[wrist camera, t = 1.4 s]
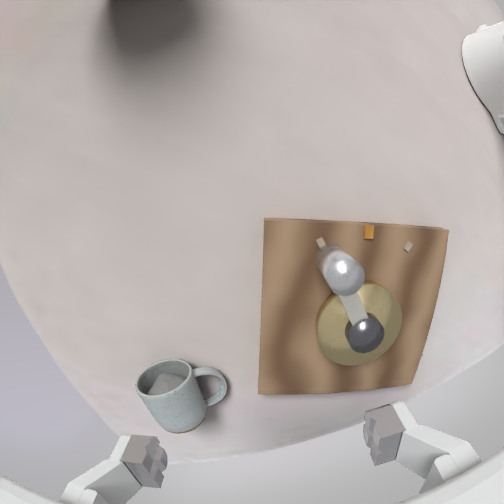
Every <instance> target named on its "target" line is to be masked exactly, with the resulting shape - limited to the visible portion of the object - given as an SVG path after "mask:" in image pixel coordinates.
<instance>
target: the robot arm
mask: <svg viewBox="0 0 504 504" xmlns="http://www.w3.org/2000/svg"><path fill="white" fill-rule="evenodd" d="M462 57H463V62H464V66H465V69H466V72H467V75H468V77H469V80H470V82H471V84H472V86H473V88H474V90H475V91H476V93H477V95H478V96H479V98H480V99H481V101H482V102H483V103H484V105H485V106H486V107H487V109H488V110H489V111H490V113H491V114H492V116H493V119H494V121H495V123H496V126H497V128H498V130H499V131H500V133H502V134H504V22H500V23H498V24H495V25H492V26H489V27H488V26H487V25H485V24H483V25H481V26H479V27H478V29H477V32H475V33H472V34H469V35H468V36H466V38H465V39H464V41H463V44H462ZM364 419H365V421H366V423H365V424H364V429H363V432H364V438H365V442H366V445H367V446H368V447H370V448H371V452H370V455H371V457H372V459H373V462H374V465H375V466H376V465H380V464H383V463H386V462H389V461H392V460H396V461H397V462H399V463H400V464H402V465H403V466H405V467H406V468H408V469H410V470H411V471H413V472H414V473H416V474H418V475H419V476H421V477H423V478H424V479H426V480H425V482H424V484H423V486H422V488H421V490H420V492H419V495H417V496H414V497H412V498H409V499H406V500H404V501H401V502H399V503H396V504H504V448H502V449H501V450H500V451H498V452H496V453H495V454H493V455H492V456H490V457H489V458H487V459H486V460H484V461H481V460H480V458H479V457H478V455H477V454H476V452H475V451H474V449H473V448H472V447H471V445H470V444H469V443H468V442H467V441H465V440H462V439H459V438H456V437H454V436H451V435H448V434H446V433H443V432H440V431H438V430H435V429H433V428H430V427H427V426H425V425H423V424H422V425H418V423H417V422H416V420H415V418H414V417H413V416H412V414H411V412H410V411H409V409H408V407H407V406H406V404H405V403H404V401H402V400H400V401H397V402H394V403H391V404H387V405H384V406H381V407H378V408H375V409H372V410H368V411H366V412H365V416H364ZM159 443H160V442H159V440H158V438H157V437H154V436H141V435H129V434H122V435H121V436H120V438H119V440H118V442H117V444H116V446H115V448H114V450H113V452H112V455H111V456H110V459H109V460H107V459H106V460H104V461H103V462H101V463H100V464H98V465H97V466H95V467H93V468H92V469H90V470H89V471H87V472H85V473H84V474H82V475H81V476H79V477H77V478H76V479H74V480H72V481H71V482H69V483H68V486H67V487H66V489H65V491H64V493H63V495H62V497H61V499H60V501H56V500H54V499H51V498H49V497H46V496H44V495H42V494H40V493H37V492H35V491H33V490H31V489H28V488H27V487H25V486H23V485H21V484H18V483H16V482H15V481H13V480H11V479H9V478H7V477H0V504H125V503H126V502H127V501H128V500H130V499H131V498H132V497H133V496H134V495H135V494H136V493H137V492H138V491H139V490H140V489H141V488H142V486H145V487H155V488H161V484H162V481H163V478H164V476H163V474H162V471H163V470H165V469H166V467H167V455H166V452H165V450H164V449H163V448H162V447H160V446H159Z"/></svg>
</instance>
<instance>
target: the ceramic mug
mask: <svg viewBox="0 0 504 504" xmlns="http://www.w3.org/2000/svg"><path fill="white" fill-rule="evenodd" d="M202 375H213V376H216V377H218V378H219V382H220V385H219V388H220V390H219V391H218V392H217V393H216V394H215V395H213V396H212V397H210V398H207V399H203V396H202V393H201V391H200V389H199V386H198V382H197V380H196V377H197V376H202ZM135 386H136V391H137V393H138V394H139V396H140V397H141V399H142V400H143V402H144V403H145V405H146V407H147V408H148V410H149V411H150V412H151V414H152V415H153V417H154V418H155V420H156V421H157V422H158V424H159V425H160V426H161V427H163V428H164V429H165V430H167V431H169V432H172V433H185V432H189V431H192V430H194V429H195V428H197V427H198V426H199V425H200V424H201V423H202V422H203V420H204V419H205V416H206V407H208V406H211V405H214V404H216V403H218V402H219V401H220V400H222V399H223V397H224V396H225V394H226V392H227V383H226V380H225V378H224V376H223V375H222V373H221V372H220V371H219V370H217V369H215V368H211V367H201V368H195V369H192V367H191V365H190V364H188V363H187V362H186V361H183V360H179V359H169V360H163V361H160V362H157V363H155V364H153V365H151V366H149V367H147V368H146V369H145V370H144V371H143V372H142V373H141V374H140V375H139V376H138V378H137V380H136V384H135Z"/></svg>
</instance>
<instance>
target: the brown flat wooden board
mask: <svg viewBox="0 0 504 504" xmlns="http://www.w3.org/2000/svg"><path fill="white" fill-rule="evenodd" d="M448 233H449V230H446V229H443V228H438V227H426V226H413V225H399V224H384V223H367V222H350V221H330V220H307V219H279V218H264V248H263V279H262V308H261V335H260V360H259V383H258V394H317V393H336V392H349V391H360V390H370V389H379V388H387V387H394V386H401V385H407V384H412V381H413V379H414V376H415V373H416V370H417V367H418V365H419V362H420V359H421V355H422V352H423V349H424V346H425V343H426V339H427V336H428V332H429V329H430V325H431V321H432V318H433V314H434V310H435V306H436V301H437V297H438V292H439V288H440V283H441V278H442V272H443V267H444V261H445V255H446V248H447V241H448ZM326 244H336V245H338V246H340V247H341V248H342V249H343V250H344V251H345V252H347V253H348V254H349V255H350V256H351V257H352V258H353V259H354V260H356V261H357V262H358V263H359V264H360V265H361V266H362V268H363V270H364V274H365V279H364V280H366V281H373V282H376V283H379V284H380V285H382V286H384V287H385V288H386V289H387V290H388V291H389V292H391V293H392V294H393V295H394V297H395V298H396V299H397V301H398V302H399V305H400V307H401V311H402V324H401V328H400V331H399V334H398V336H397V338H396V340H395V341H394V343H393V344H392V345H391V347H390V348H389V349H388V350H387V351H386V352H385V353H384V354H382V355H381V356H380V357H378V358H376V359H375V360H373V361H370V362H368V363H365V364H361V365H355V366H347V365H341V364H338V363H336V362H334V361H332V360H330V359H329V358H328V357H327V356H326V355H325V354H324V353H323V351H322V350H321V348H320V345H319V342H318V339H317V336H316V332H315V321H316V316H317V313H318V311H319V309H320V307H321V305H322V304H323V302H324V301H325V299H326V298H327V297H328V296H329V295H330V294H331V293H332V292H333V291H332V289H331V288H330V286H329V285H328V283H327V281H326V280H325V278H324V276H323V275H322V273H321V272H320V270H319V268H318V267H317V265H316V260H315V259H316V254H317V252H318V250H319V249H320V248H321V247H322V246H324V245H326Z"/></svg>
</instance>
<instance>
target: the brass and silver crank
mask: <svg viewBox="0 0 504 504" xmlns="http://www.w3.org/2000/svg"><path fill="white" fill-rule="evenodd" d="M315 260H316V265H317V267H318V268H319V270H320V272H321V273H322V275H323V276H324V278H325V280H326V281H327V283H328V285H329V286H330V288H331V289H332V291H333V292H332V293H331V294H330V295H329V296H328V297H327V298H326V299H325V301H324V302H323V304H322V305H321V307H320V309H319V311H318V313H317V316H316V321H315V332H316V336H317V339H318V342H319V345H320V348H321V350H322V351H323V353H324V354H325V355H326V356H327V357H328V358H329V359H330V360H332V361H334V362H336V363H338V364H341V365H347V366H355V365H361V364H365V363H368V362H370V361H373V360H375V359H376V358H378V357H380V356H381V355H382V354H384V353H385V352H386V351H387V350H388V349H389V348H390V347H391V345H392V344H393V343H394V341H395V340H396V338H397V336H398V334H399V331H400V328H401V324H402V311H401V307H400V305H399V302H398V301H397V299H396V298H395V297H394V295H393V294H392V293H391V292H389V291H388V290H387V289H386V288H385V287H384V286H382V285H380V284H379V283H376V282H373V281H366V280H364V279H365V274H364V270H363V268H362V266H361V265H360V264H359V263H358V262H357V261H356V260H354V259H353V258H352V257H351V256H350V255H349V254H348V253H347V252H345V251H344V250H343V249H342V248H341V247H340V246H338V245H336V244H326V245H324V246H322V247H321V248H320V249H319V250H318V252H317V254H316V259H315Z"/></svg>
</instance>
